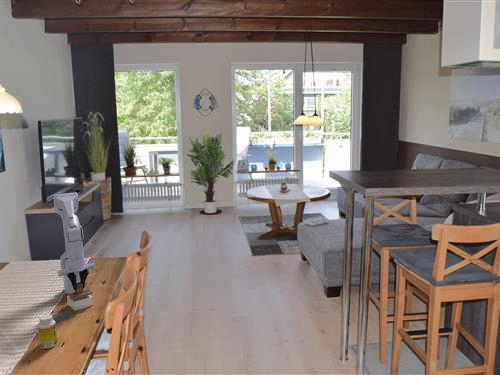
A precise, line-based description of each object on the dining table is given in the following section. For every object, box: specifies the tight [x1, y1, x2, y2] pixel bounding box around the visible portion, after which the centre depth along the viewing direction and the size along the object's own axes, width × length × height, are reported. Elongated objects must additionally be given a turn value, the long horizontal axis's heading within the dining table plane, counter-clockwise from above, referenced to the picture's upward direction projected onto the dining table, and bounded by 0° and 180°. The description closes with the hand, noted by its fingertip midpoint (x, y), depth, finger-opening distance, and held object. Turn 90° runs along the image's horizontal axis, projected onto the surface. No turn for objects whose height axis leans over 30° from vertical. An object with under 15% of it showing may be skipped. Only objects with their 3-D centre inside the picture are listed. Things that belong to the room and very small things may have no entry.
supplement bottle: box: [37, 314, 58, 349], centre depth 154 cm, size 6×6×10 cm
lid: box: [65, 282, 94, 299], centre depth 185 cm, size 8×8×4 cm
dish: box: [66, 294, 94, 312], centre depth 186 cm, size 8×8×4 cm
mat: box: [51, 310, 77, 324], centre depth 176 cm, size 8×8×1 cm
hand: (78, 288), depth 185 cm, fingers closed on lid, 2 cm apart
